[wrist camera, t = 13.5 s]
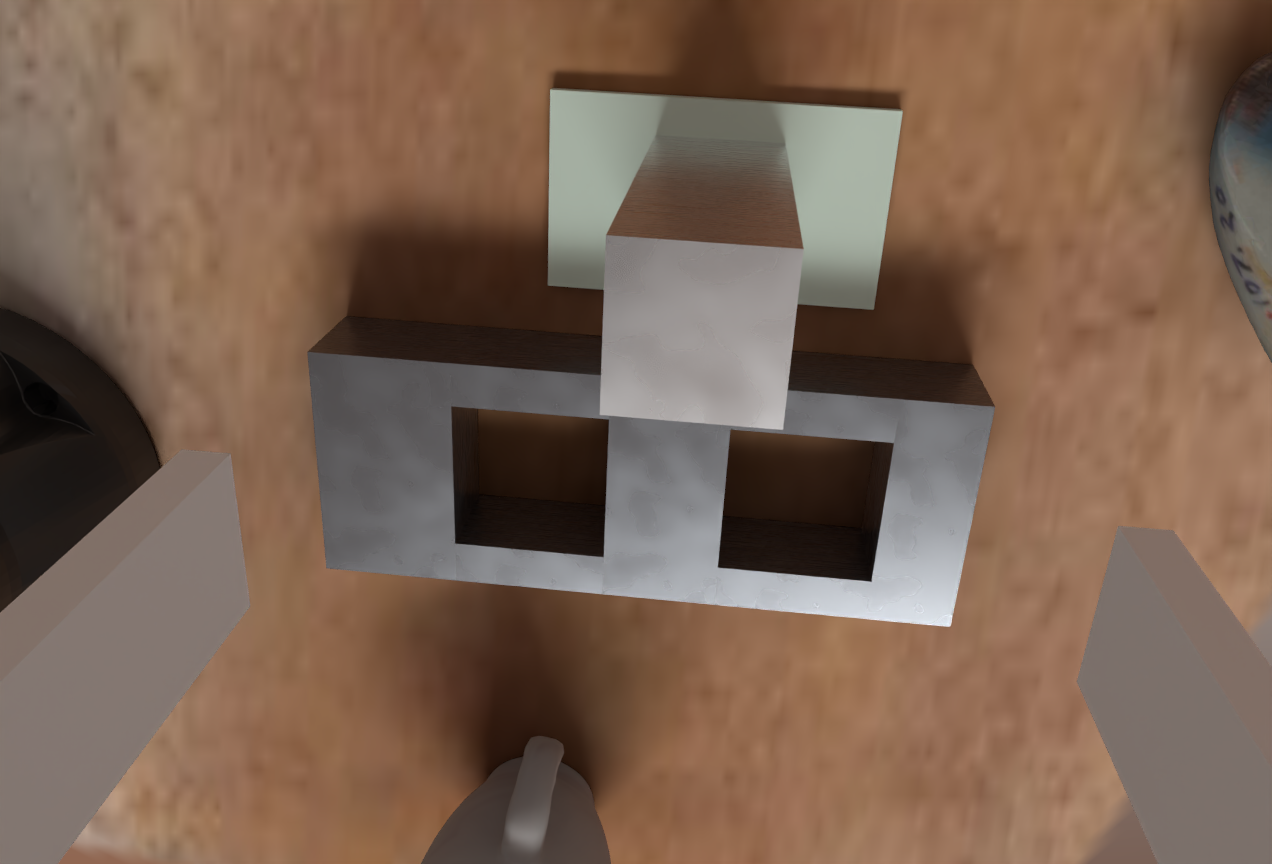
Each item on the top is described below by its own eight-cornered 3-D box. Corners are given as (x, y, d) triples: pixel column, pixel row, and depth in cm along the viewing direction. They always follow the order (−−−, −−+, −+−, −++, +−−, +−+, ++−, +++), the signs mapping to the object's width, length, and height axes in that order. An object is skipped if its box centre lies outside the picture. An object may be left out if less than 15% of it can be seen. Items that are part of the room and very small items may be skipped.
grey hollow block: (360, 518, 45) (326, 568, 42) (345, 316, 42) (307, 352, 38) (933, 570, 44) (950, 626, 40) (972, 364, 40) (995, 406, 36)
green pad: (550, 281, 40) (547, 285, 40) (552, 87, 37) (550, 89, 37) (872, 305, 39) (873, 309, 39) (900, 109, 37) (902, 111, 36)
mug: (614, 884, 53) (586, 1070, 44) (439, 847, 53) (377, 1025, 44) (659, 693, 48) (639, 861, 39) (466, 653, 48) (402, 811, 39)
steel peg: (648, 261, 39) (599, 414, 26) (655, 135, 37) (605, 235, 24) (772, 270, 39) (783, 429, 26) (785, 143, 37) (803, 249, 24)
